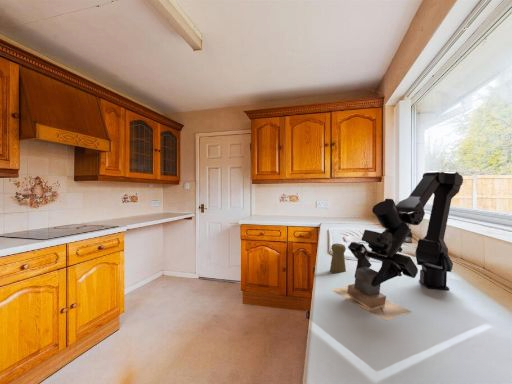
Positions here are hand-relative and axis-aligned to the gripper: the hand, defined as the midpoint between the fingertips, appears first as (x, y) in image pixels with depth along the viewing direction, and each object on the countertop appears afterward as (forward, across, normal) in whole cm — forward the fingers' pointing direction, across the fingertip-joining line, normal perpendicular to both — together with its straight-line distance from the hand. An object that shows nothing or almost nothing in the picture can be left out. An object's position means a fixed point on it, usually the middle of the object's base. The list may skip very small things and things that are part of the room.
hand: (363, 281), depth 68 cm
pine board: (+3, -1, +7) cm, 8 cm away
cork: (-5, -24, +15) cm, 29 cm away
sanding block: (+3, -1, +5) cm, 6 cm away
